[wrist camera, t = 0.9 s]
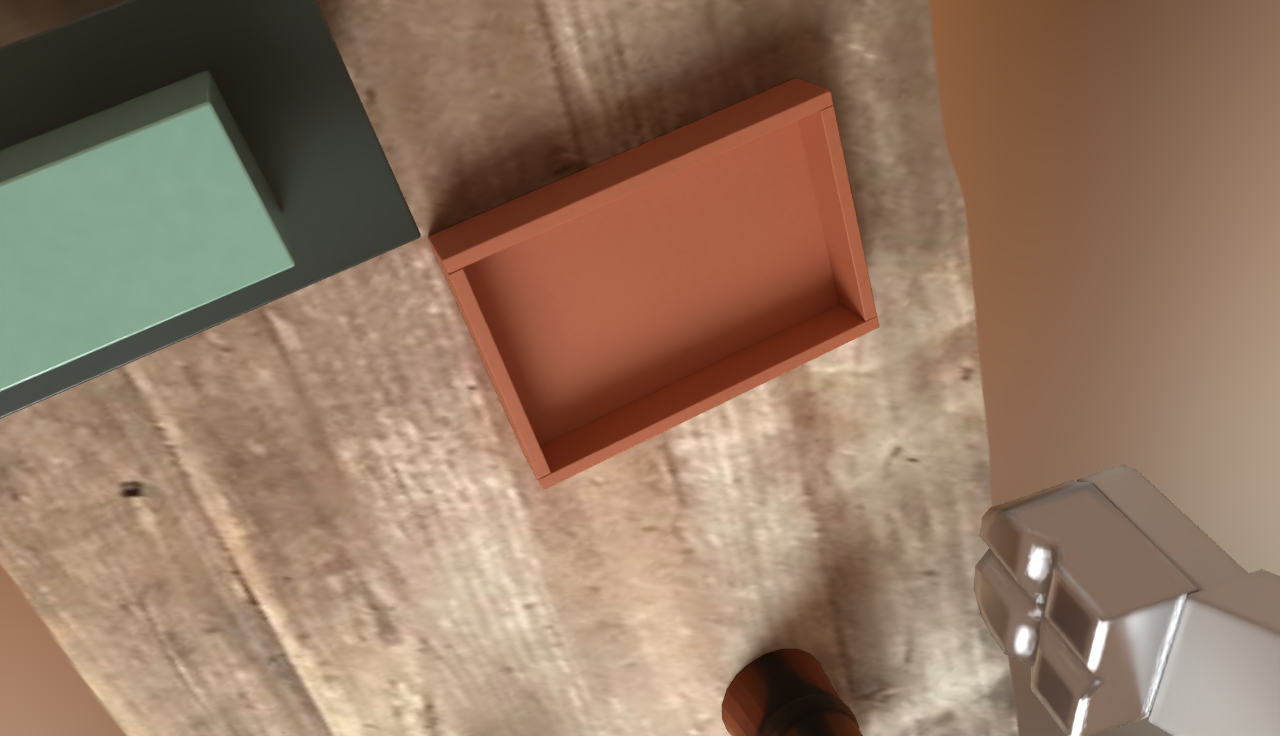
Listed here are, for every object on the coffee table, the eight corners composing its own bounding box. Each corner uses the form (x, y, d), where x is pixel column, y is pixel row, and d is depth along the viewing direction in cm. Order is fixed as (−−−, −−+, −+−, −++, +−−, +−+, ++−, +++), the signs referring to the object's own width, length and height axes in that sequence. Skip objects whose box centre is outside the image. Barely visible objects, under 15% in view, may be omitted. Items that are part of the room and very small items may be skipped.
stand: (-33, 6, 43) (-238, 135, 23) (248, -96, 45) (289, -60, 25) (76, 183, 47) (-16, 426, 27) (330, 82, 49) (422, 238, 29)
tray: (427, 236, 54) (441, 260, 51) (795, 77, 58) (830, 90, 54) (525, 457, 61) (543, 490, 58) (846, 304, 65) (880, 327, 62)
